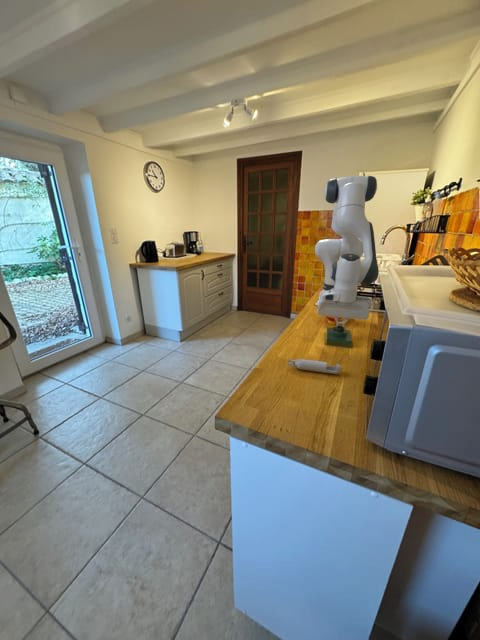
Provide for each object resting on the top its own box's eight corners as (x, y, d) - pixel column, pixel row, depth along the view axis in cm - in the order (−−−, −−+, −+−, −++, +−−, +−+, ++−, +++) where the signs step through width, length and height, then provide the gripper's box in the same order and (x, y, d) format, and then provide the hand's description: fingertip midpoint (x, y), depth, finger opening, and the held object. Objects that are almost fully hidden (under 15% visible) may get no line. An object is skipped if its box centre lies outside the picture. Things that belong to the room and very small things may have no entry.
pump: (334, 328, 112) (335, 324, 111) (343, 329, 110) (344, 325, 110) (334, 331, 108) (335, 327, 108) (343, 332, 107) (344, 328, 107)
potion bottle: (340, 318, 134) (344, 291, 129) (345, 326, 125) (350, 297, 119) (319, 318, 135) (323, 291, 130) (323, 325, 126) (327, 296, 120)
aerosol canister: (339, 370, 89) (342, 353, 87) (341, 377, 85) (344, 360, 82) (288, 363, 93) (289, 347, 91) (287, 370, 89) (288, 354, 87)
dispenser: (325, 333, 118) (327, 323, 116) (349, 335, 115) (350, 325, 113) (325, 344, 107) (327, 334, 105) (351, 347, 104) (353, 337, 103)
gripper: (371, 295, 103) (365, 326, 108) (319, 291, 109) (315, 321, 114) (373, 299, 98) (367, 332, 103) (318, 295, 103) (315, 326, 109)
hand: (339, 326), depth 109 cm, fingers closed, pressing on pump
